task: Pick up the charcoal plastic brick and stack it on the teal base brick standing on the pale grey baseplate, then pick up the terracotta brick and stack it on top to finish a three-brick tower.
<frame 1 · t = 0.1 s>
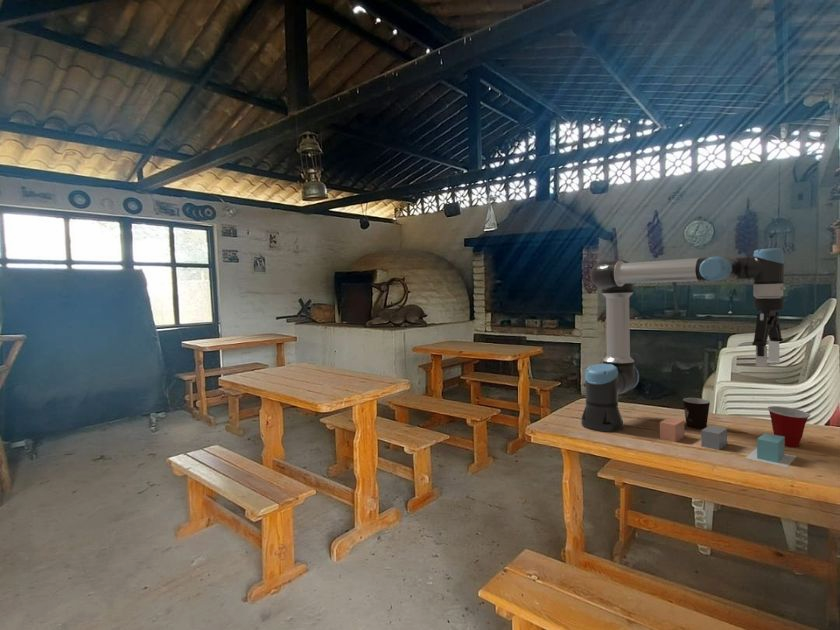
hand: (767, 363, 141), 28 cm above the table, fingers open, 13 cm apart
coffee mug: (696, 426, 168), on the table
charcoal brick: (714, 447, 146), on the table
terracotta brick: (672, 437, 156), on the table
baseplate: (770, 459, 135), on the table
teal base brick: (770, 457, 135), point 1 cm above the table, touching baseplate
plastic cup: (788, 446, 145), on the table
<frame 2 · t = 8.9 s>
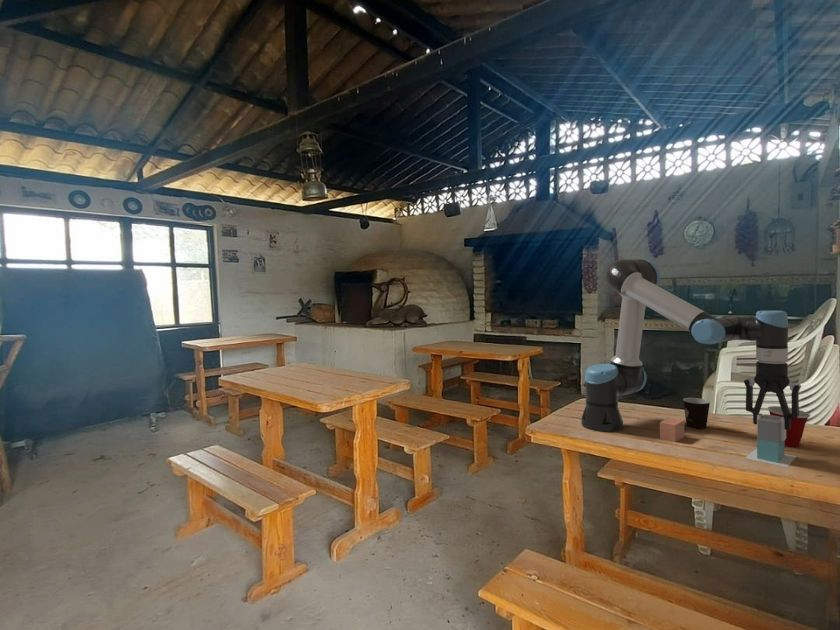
hand: (771, 437, 134), 7 cm above the table, fingers closed on charcoal brick, 5 cm apart
charcoal brick: (771, 437, 134), point 7 cm above the table, touching gripper, teal base brick
teal base brick: (770, 457, 135), point 1 cm above the table, touching baseplate, charcoal brick, gripper
everything else where it was.
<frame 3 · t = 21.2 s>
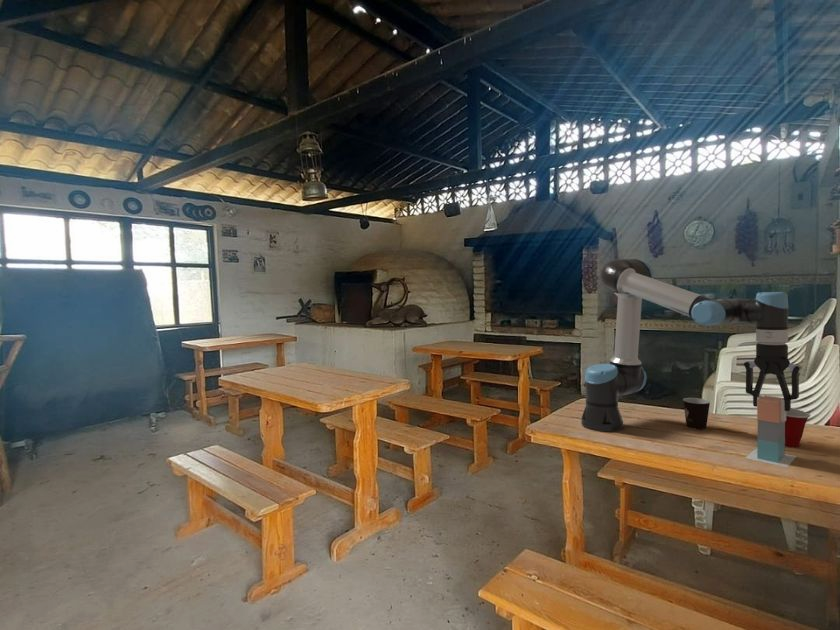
hand: (771, 419, 134), 12 cm above the table, fingers closed on charcoal brick, terracotta brick, 5 cm apart
charcoal brick: (771, 437, 134), point 7 cm above the table, touching gripper, teal base brick, terracotta brick
terracotta brick: (771, 418, 134), point 13 cm above the table, touching charcoal brick, gripper
teal base brick: (771, 457, 134), point 1 cm above the table, touching baseplate, charcoal brick
everything else where it was.
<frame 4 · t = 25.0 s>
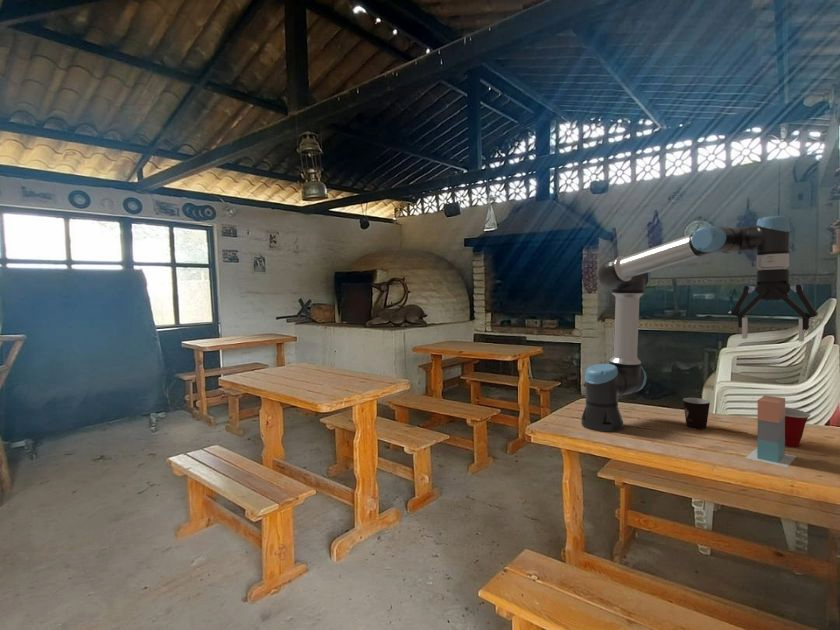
hand: (771, 339, 133), 37 cm above the table, fingers open, 13 cm apart
charcoal brick: (771, 437, 134), point 7 cm above the table, touching teal base brick, terracotta brick
terracotta brick: (771, 418, 134), point 13 cm above the table, touching charcoal brick
everything else where it was.
at the end: charcoal brick 0.0 cm off-centre on the teal base brick, point 6.0 cm above the teal base brick's base; terracotta brick 0.1 cm off-centre on the charcoal brick, point 6.0 cm above the charcoal brick's base; terracotta brick tilted 0° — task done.
